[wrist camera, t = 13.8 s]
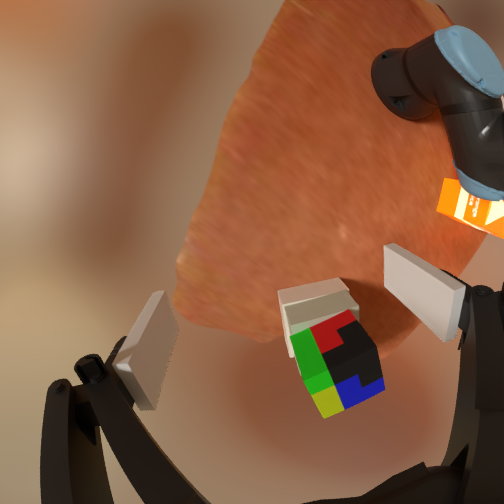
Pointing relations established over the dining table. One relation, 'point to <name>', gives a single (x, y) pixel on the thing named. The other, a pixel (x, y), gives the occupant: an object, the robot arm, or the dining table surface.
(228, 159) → the dining table surface
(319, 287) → the tower base
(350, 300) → the tower top
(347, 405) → the puzzle toy
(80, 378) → the robot arm
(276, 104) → the dining table surface
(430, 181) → the dining table surface
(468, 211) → the orange juice
